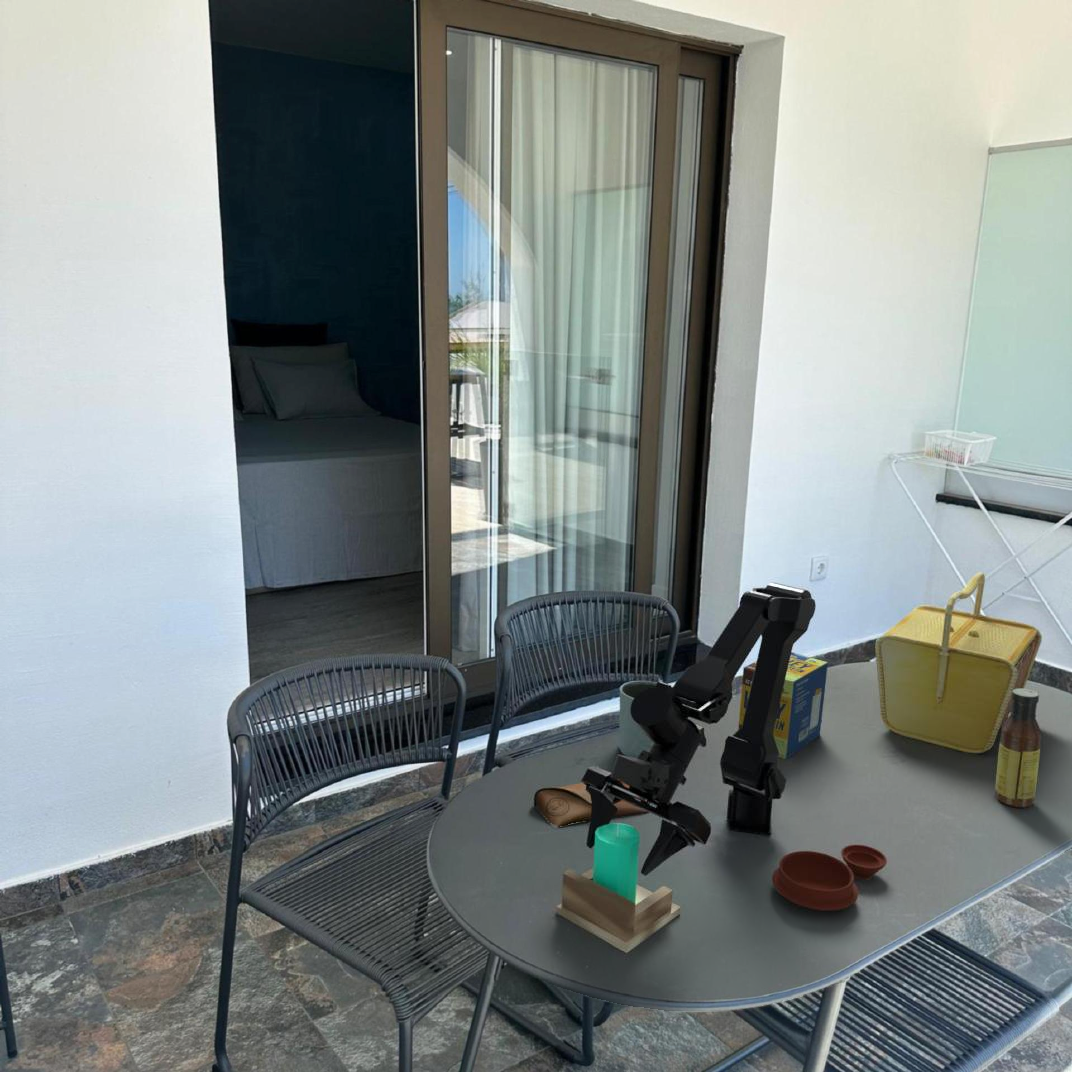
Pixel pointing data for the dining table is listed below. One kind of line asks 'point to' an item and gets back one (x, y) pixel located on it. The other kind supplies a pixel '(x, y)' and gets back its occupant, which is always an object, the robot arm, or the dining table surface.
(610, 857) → the candle
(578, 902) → the dock
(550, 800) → the sunglasses case
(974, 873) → the dining table surface
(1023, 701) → the sauce bottle
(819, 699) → the protein box
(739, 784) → the robot arm
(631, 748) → the pale green cup
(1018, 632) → the picnic basket
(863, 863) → the pottery
